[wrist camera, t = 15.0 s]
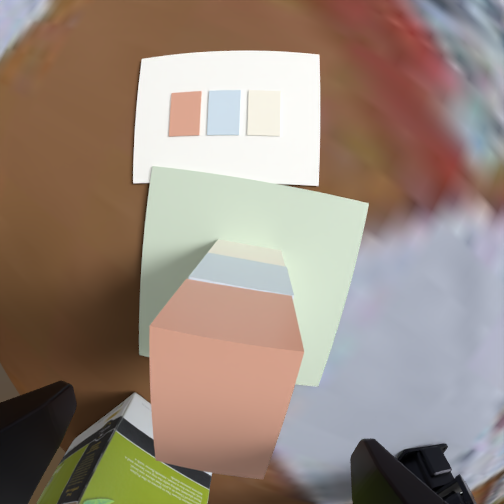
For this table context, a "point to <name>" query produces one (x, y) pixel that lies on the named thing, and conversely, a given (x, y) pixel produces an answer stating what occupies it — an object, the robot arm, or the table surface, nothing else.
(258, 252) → the brick cream
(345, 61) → the table surface
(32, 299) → the table surface
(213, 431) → the brick rust
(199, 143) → the page
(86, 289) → the table surface
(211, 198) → the baseplate
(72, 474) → the tea box
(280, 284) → the brick blue
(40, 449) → the robot arm
